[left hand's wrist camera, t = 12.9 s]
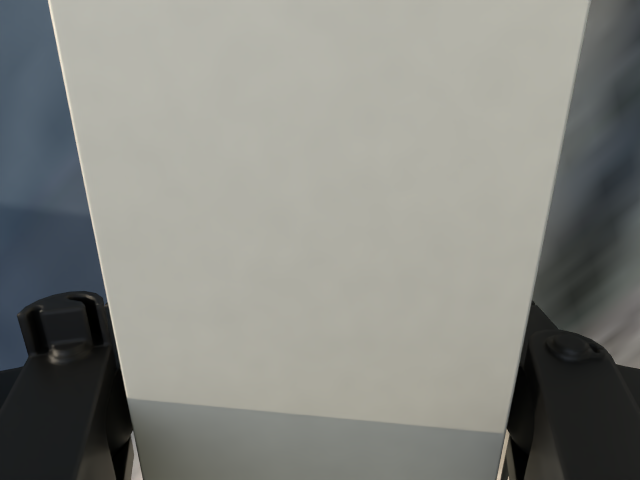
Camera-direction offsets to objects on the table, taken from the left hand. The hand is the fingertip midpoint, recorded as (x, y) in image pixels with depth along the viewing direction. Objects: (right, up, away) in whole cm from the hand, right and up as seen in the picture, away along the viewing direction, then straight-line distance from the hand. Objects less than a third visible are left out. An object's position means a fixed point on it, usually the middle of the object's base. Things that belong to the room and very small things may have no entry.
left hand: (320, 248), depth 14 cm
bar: (0, +20, -7) cm, 21 cm away
